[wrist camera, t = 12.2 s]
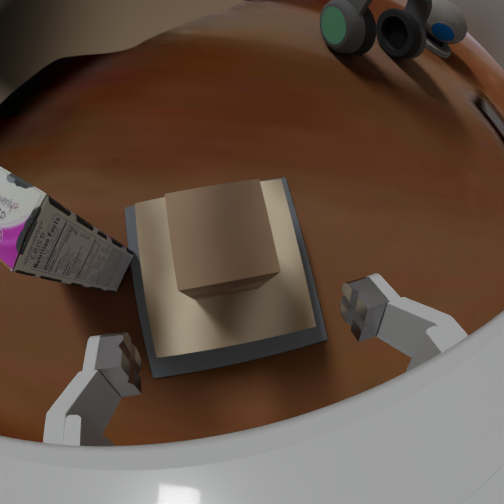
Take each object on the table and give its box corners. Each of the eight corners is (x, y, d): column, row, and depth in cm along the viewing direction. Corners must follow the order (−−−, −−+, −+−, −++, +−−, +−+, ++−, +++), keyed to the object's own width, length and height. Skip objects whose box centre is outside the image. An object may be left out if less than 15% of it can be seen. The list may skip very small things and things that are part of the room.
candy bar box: (46, 252, 27) (-55, 207, 11) (64, 214, 28) (-26, 147, 12) (117, 297, 27) (9, 274, 11) (138, 253, 28) (47, 188, 12)
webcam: (446, 45, 48) (470, 12, 33) (451, 65, 45) (480, 30, 30) (406, 20, 47) (428, -16, 33) (407, 37, 44) (433, -4, 30)
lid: (159, 355, 22) (117, 381, 12) (138, 208, 24) (96, 148, 14) (311, 325, 24) (369, 330, 14) (278, 184, 26) (308, 116, 16)
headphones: (339, 67, 38) (383, -27, 18) (309, 31, 39) (338, -54, 20) (414, 71, 41) (461, 5, 21) (384, 37, 43) (420, -27, 23)
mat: (154, 377, 26) (153, 378, 25) (125, 209, 29) (124, 207, 29) (326, 339, 28) (327, 339, 28) (284, 179, 32) (285, 177, 31)
